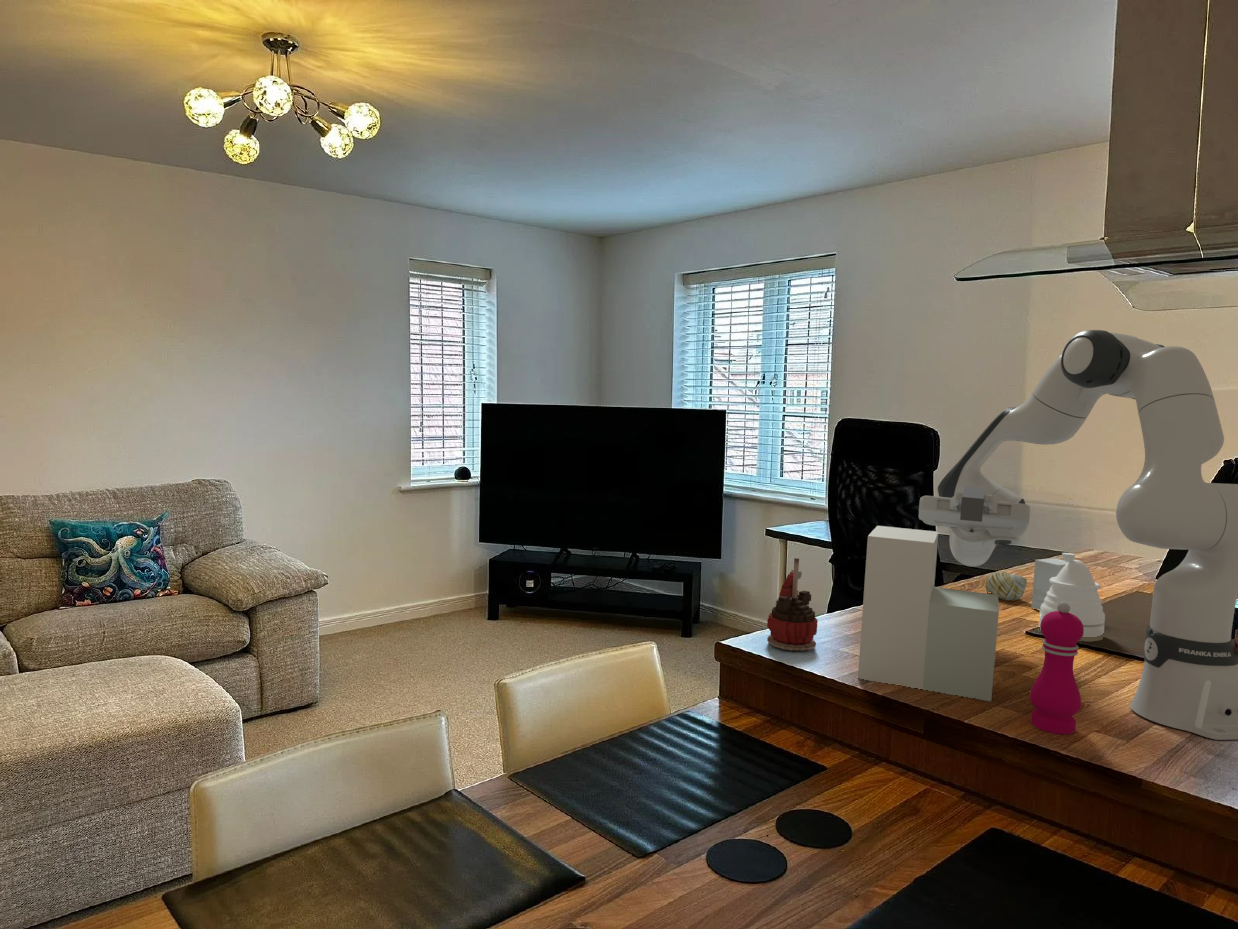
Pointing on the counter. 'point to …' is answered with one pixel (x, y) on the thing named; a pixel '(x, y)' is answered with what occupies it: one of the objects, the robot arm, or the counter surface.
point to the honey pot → (1076, 596)
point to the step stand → (923, 620)
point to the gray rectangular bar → (972, 504)
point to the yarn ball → (1006, 585)
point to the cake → (792, 616)
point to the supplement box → (1044, 578)
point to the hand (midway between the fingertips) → (974, 497)
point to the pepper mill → (1057, 673)
